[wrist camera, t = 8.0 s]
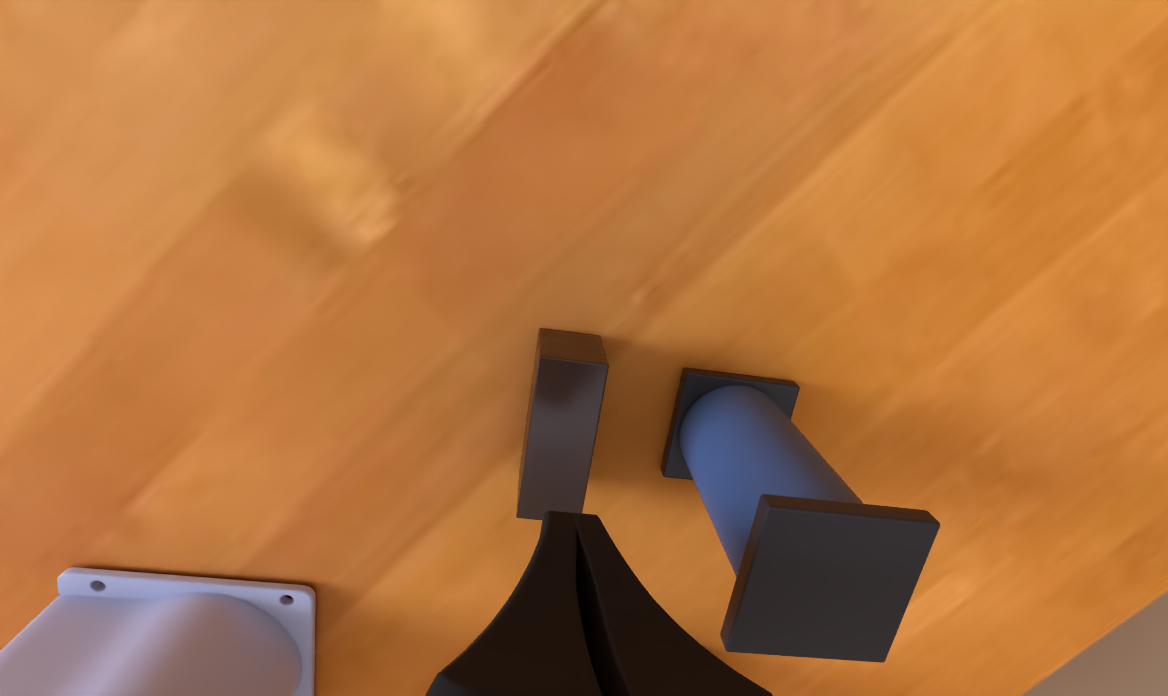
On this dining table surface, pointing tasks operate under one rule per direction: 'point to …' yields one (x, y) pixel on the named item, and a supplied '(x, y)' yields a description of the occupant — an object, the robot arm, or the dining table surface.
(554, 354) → the block
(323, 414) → the dining table surface
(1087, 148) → the dining table surface
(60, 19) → the dining table surface
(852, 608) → the spool
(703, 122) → the dining table surface
